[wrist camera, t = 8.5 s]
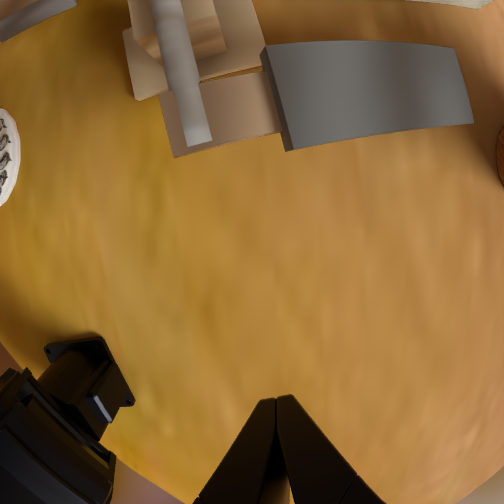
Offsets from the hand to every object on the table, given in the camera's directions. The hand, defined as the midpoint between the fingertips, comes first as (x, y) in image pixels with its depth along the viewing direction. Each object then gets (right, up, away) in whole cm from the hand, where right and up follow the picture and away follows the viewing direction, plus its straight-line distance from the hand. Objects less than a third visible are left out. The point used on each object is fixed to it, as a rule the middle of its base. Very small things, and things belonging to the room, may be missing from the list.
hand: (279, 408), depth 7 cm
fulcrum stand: (-5, +20, +7) cm, 22 cm away
